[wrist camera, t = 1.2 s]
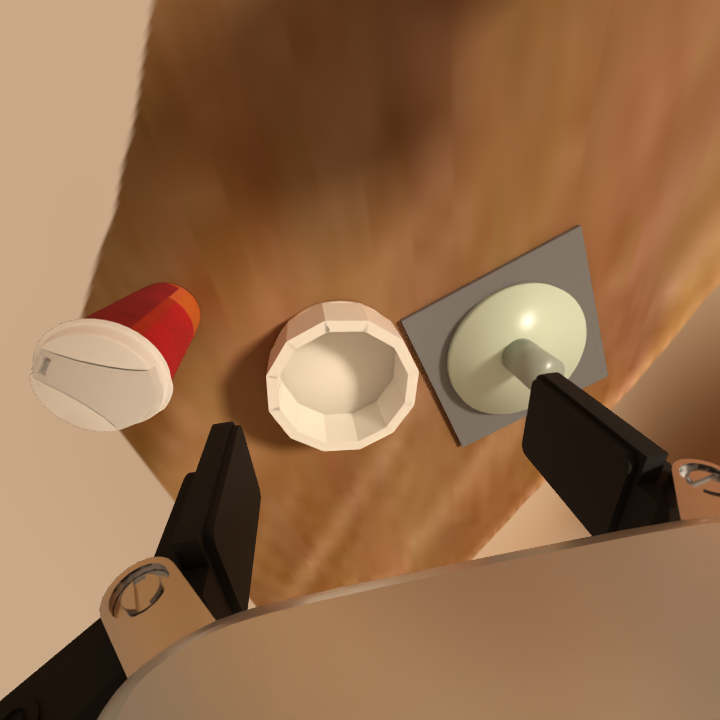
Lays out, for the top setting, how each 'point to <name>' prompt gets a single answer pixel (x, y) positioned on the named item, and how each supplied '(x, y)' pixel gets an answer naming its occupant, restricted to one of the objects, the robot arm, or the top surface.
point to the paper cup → (116, 359)
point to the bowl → (340, 376)
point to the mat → (441, 318)
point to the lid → (514, 345)
